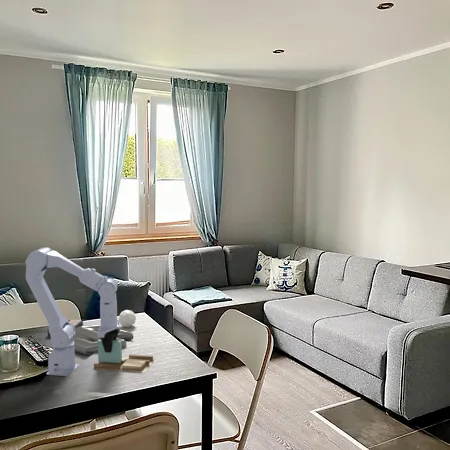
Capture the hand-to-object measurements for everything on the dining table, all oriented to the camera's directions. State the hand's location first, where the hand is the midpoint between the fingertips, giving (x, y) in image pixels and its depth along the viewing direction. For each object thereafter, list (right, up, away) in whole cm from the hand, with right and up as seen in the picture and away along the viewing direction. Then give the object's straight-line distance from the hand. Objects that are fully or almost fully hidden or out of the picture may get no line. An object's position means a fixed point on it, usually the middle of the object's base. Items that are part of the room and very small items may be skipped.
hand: (109, 350), depth 166 cm
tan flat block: (+9, -6, -1) cm, 11 cm away
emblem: (-12, -5, +26) cm, 29 cm away
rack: (+5, -6, +2) cm, 8 cm away
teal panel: (0, -4, 0) cm, 4 cm away
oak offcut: (+9, -5, -1) cm, 10 cm away
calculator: (-30, -3, +42) cm, 51 cm away
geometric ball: (-4, -2, +49) cm, 49 cm away
